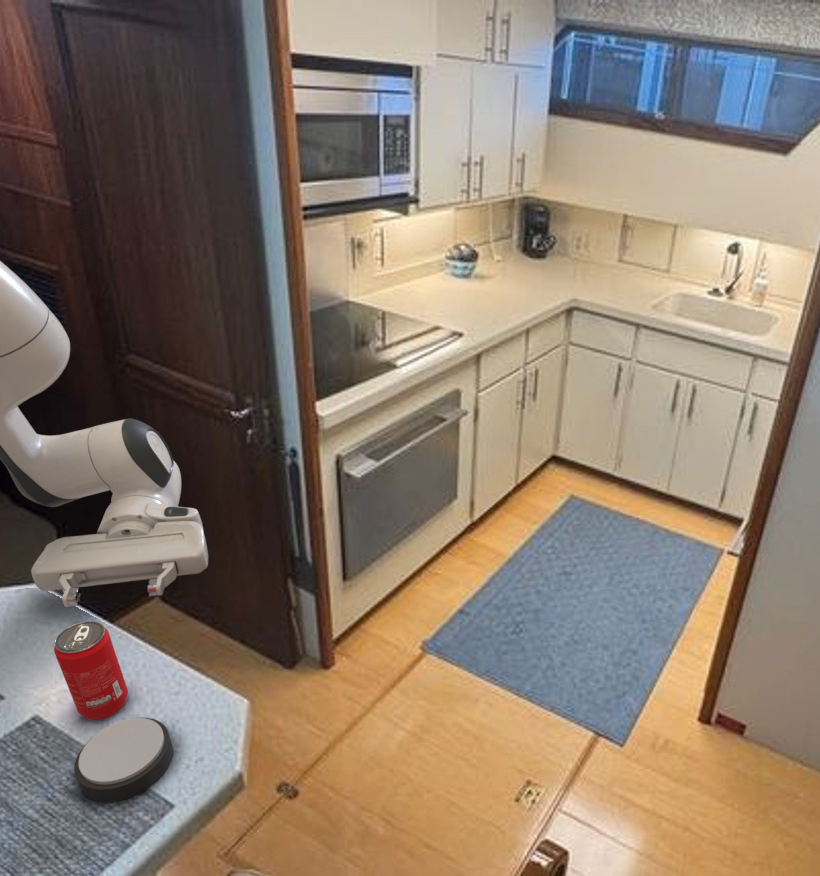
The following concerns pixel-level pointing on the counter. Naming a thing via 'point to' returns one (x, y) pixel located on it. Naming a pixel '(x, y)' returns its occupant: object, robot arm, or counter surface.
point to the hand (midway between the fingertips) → (113, 597)
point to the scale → (123, 759)
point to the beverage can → (91, 670)
